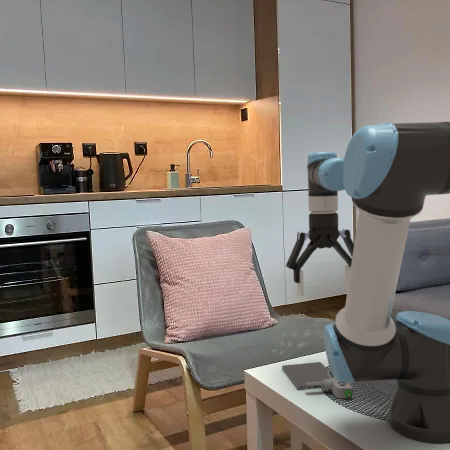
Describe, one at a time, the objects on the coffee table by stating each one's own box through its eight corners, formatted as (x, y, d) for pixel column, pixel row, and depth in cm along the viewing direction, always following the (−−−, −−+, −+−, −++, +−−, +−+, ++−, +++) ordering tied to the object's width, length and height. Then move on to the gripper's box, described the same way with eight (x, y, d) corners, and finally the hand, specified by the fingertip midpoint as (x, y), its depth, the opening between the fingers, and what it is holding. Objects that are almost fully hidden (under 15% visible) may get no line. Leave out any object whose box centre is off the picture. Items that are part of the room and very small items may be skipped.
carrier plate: (340, 385, 127) (340, 381, 127) (297, 390, 125) (297, 386, 125) (320, 365, 141) (320, 361, 141) (282, 369, 139) (281, 365, 139)
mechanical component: (300, 380, 128) (339, 377, 129) (311, 403, 118) (352, 400, 119) (300, 369, 127) (339, 367, 128) (311, 391, 117) (353, 389, 118)
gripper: (360, 209, 138) (361, 286, 140) (272, 213, 133) (275, 293, 135) (374, 210, 131) (375, 291, 133) (282, 215, 125) (284, 300, 127)
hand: (324, 292), depth 134 cm, fingers open, 13 cm apart
